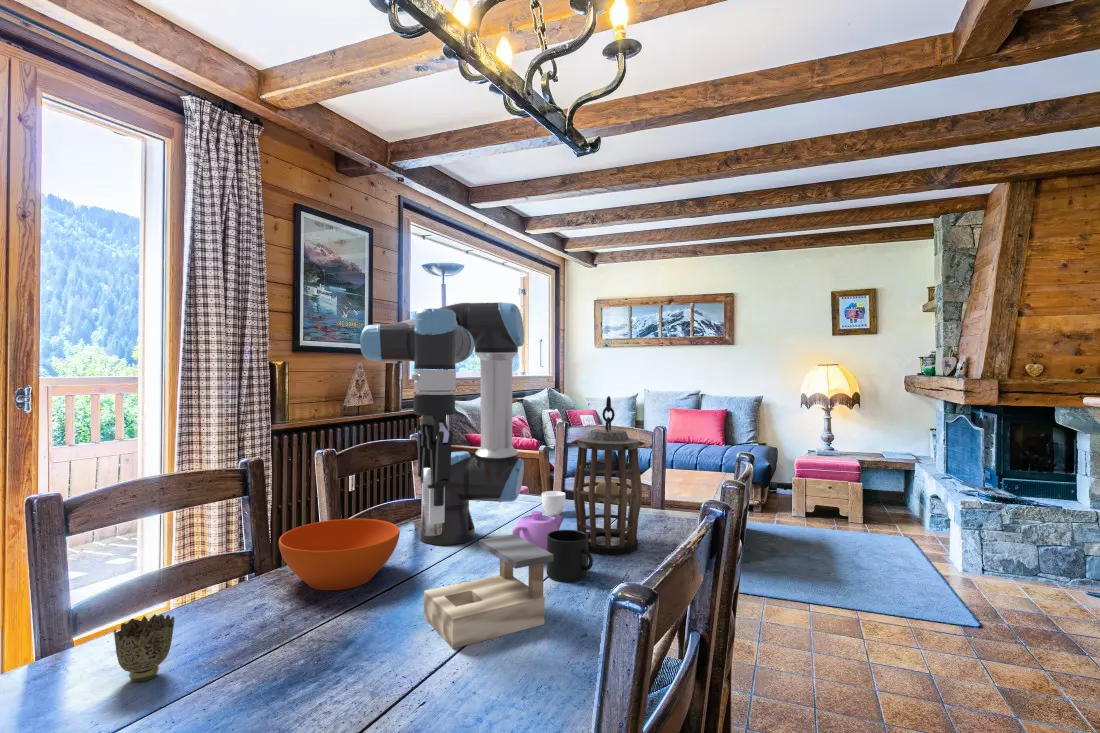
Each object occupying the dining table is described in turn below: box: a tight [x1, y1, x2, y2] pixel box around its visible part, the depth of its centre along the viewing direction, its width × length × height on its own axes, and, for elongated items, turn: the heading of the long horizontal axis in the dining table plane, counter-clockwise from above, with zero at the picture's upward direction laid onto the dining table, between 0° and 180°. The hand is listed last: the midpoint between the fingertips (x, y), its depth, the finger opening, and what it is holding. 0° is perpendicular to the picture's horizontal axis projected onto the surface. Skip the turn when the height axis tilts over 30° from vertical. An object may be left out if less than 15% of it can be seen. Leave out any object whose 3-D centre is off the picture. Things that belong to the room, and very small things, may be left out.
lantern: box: [571, 395, 646, 557], centre depth 152 cm, size 19×19×40 cm
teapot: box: [511, 510, 564, 551], centre depth 145 cm, size 14×20×11 cm
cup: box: [541, 490, 566, 517], centre depth 185 cm, size 8×10×7 cm
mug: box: [546, 529, 594, 583], centre depth 129 cm, size 9×12×9 cm
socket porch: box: [423, 533, 554, 650], centre depth 106 cm, size 15×20×13 cm
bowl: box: [278, 518, 401, 591], centre depth 126 cm, size 25×25×10 cm
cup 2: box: [113, 613, 175, 683], centre depth 85 cm, size 8×7×8 cm
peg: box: [421, 466, 442, 536], centre depth 105 cm, size 4×4×12 cm
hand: (432, 520), depth 105 cm, fingers closed on peg, 3 cm apart
